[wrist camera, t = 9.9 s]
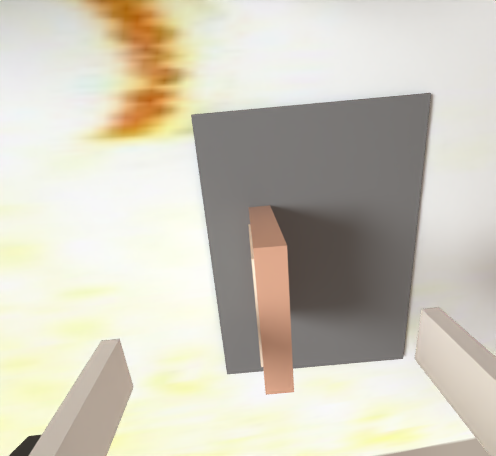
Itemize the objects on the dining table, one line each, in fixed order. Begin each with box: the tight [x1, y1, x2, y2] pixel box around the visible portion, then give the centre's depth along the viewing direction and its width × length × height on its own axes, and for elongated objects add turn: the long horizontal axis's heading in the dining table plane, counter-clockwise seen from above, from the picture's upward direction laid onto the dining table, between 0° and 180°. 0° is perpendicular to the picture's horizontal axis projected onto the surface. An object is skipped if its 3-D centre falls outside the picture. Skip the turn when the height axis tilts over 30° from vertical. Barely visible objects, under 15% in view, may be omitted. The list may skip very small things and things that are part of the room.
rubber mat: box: [191, 93, 431, 374], centre depth 22 cm, size 22×16×1 cm
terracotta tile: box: [248, 205, 294, 394], centre depth 19 cm, size 9×2×8 cm, turn 5°
